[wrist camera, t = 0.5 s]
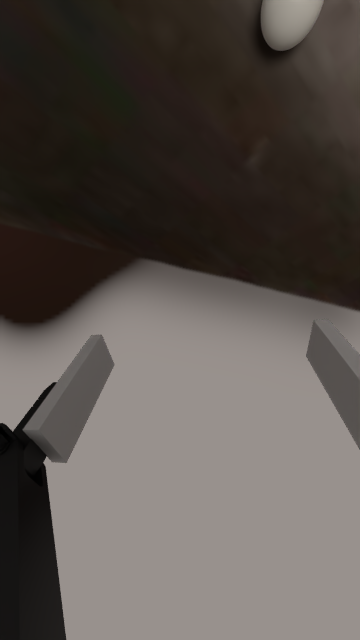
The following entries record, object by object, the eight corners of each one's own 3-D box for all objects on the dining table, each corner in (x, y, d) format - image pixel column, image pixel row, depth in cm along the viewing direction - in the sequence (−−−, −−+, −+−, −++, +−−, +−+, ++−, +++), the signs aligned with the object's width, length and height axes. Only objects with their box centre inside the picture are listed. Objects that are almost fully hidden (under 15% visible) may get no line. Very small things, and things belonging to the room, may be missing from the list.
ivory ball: (253, -6, 22) (266, -57, 17) (312, -34, 21) (343, -97, 16) (257, 70, 25) (269, 44, 20) (310, 49, 24) (336, 16, 19)
